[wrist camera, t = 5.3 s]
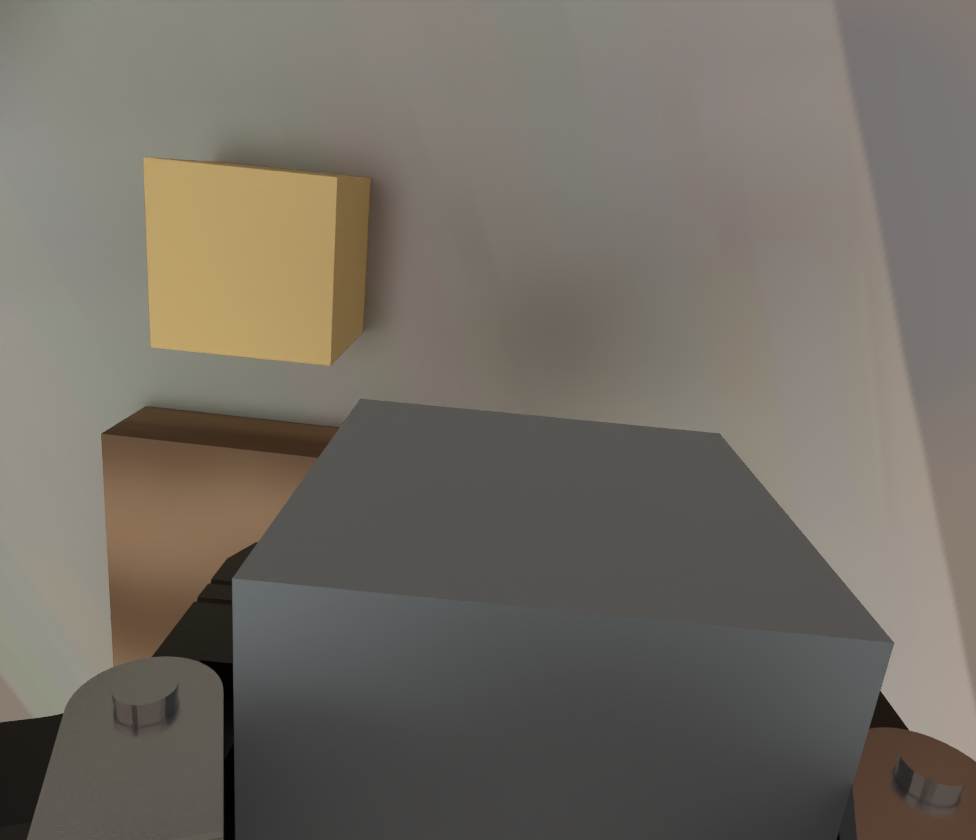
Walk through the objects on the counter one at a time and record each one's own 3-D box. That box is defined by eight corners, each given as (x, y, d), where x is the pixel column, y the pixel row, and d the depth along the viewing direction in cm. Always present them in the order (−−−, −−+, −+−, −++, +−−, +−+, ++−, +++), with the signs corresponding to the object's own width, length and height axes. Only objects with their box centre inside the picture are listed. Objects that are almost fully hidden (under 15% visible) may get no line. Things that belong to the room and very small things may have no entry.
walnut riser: (145, 406, 27) (101, 433, 24) (483, 444, 27) (479, 475, 24) (155, 691, 30) (117, 744, 27) (452, 723, 30) (445, 780, 27)
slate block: (360, 399, 10) (231, 579, 6) (719, 433, 10) (895, 642, 6) (347, 701, 12) (237, 1044, 7) (661, 731, 12) (761, 1096, 7)
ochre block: (215, 161, 24) (143, 157, 19) (371, 178, 24) (337, 177, 19) (217, 316, 26) (150, 347, 21) (363, 331, 26) (330, 365, 21)
